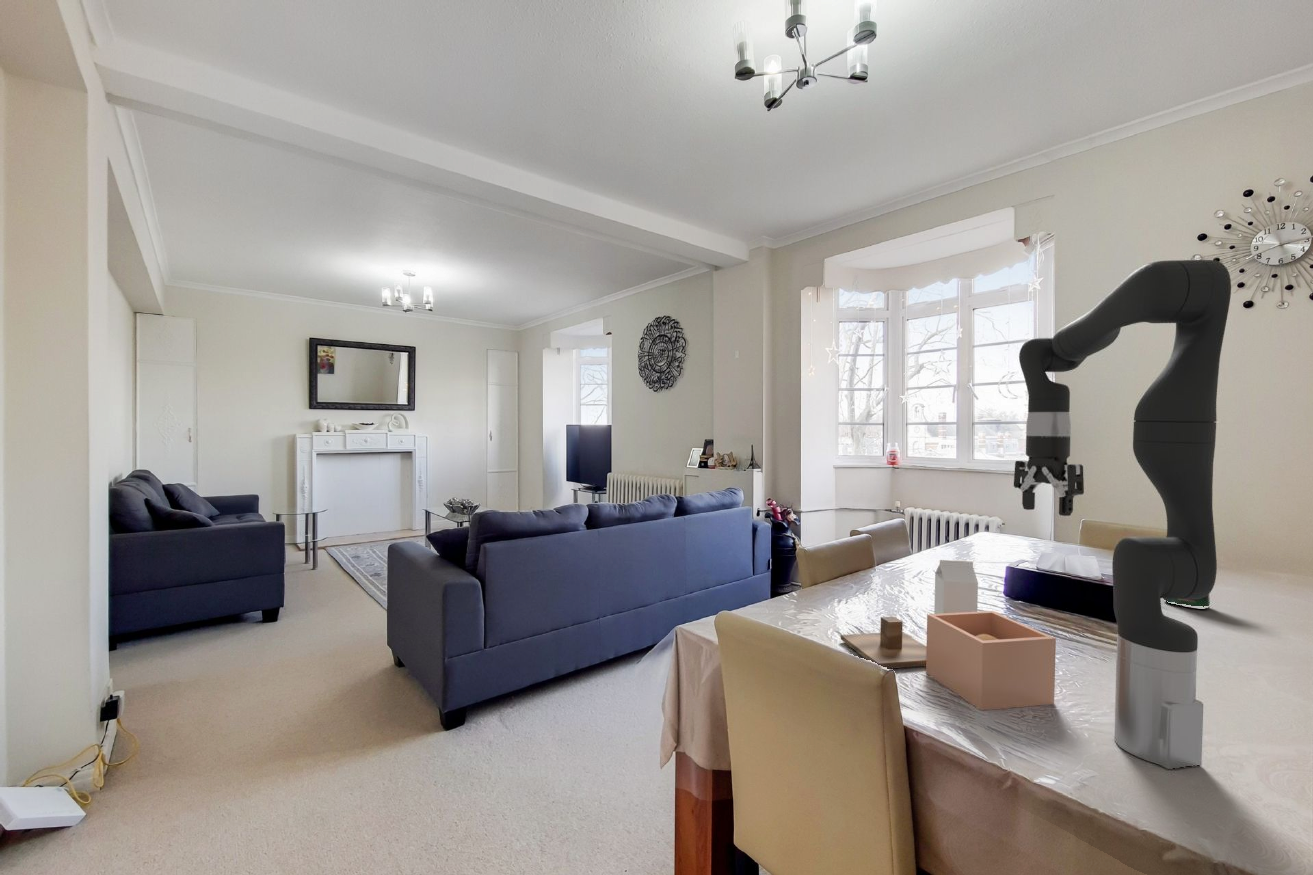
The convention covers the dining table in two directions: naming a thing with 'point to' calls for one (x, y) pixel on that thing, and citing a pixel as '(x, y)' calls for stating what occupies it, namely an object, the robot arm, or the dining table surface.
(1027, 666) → the tan open box
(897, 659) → the lid
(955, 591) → the milk carton
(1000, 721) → the dining table surface
